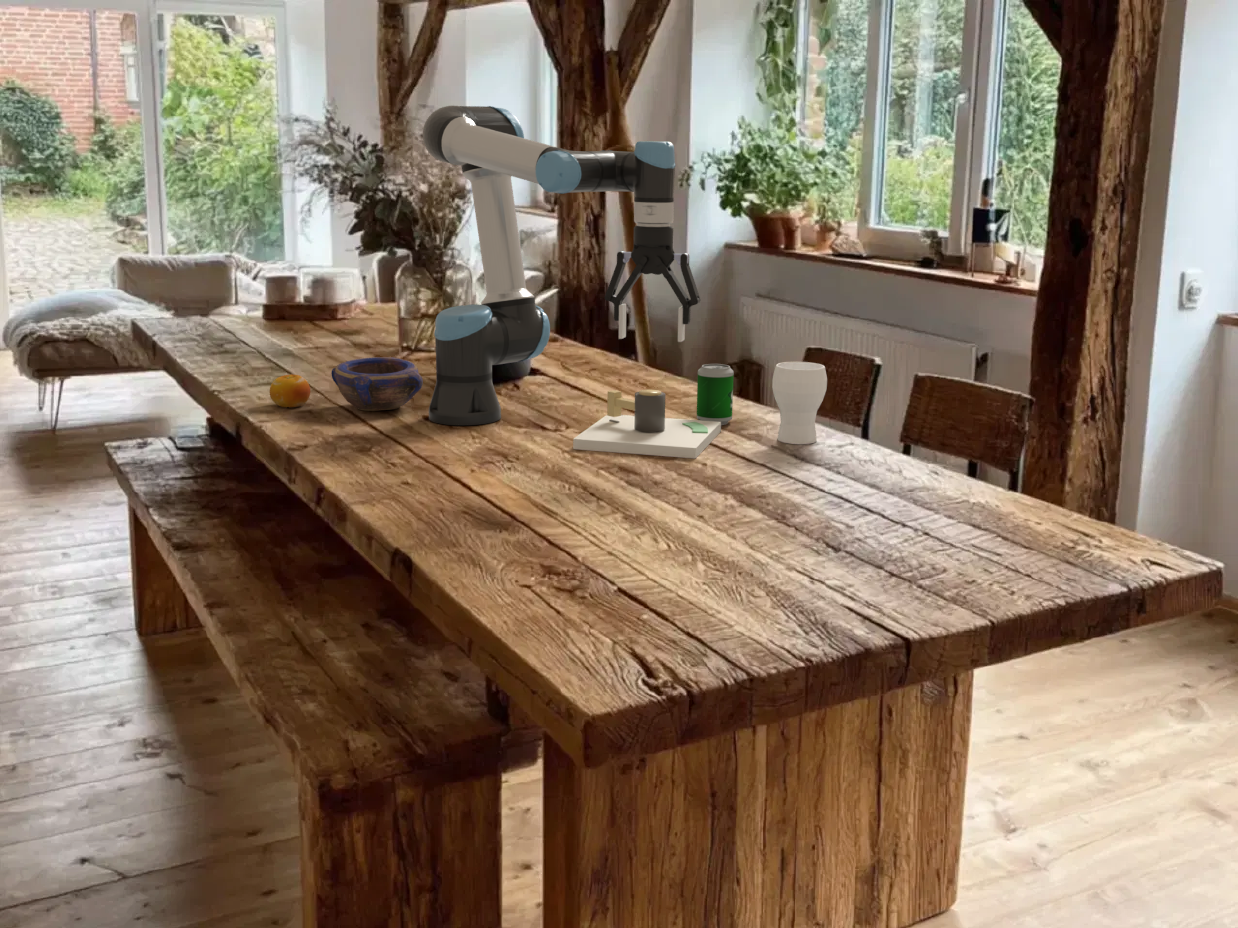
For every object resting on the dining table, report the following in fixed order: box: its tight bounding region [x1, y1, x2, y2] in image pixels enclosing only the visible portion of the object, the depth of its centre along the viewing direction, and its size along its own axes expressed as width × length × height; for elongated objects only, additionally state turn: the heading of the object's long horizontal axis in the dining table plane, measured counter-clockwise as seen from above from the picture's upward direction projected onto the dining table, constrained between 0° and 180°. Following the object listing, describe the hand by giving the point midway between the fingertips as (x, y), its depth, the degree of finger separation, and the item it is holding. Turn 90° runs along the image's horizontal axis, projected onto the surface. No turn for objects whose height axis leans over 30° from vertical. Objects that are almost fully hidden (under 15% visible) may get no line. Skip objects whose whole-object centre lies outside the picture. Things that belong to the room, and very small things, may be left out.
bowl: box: [330, 356, 424, 412], centre depth 279 cm, size 18×18×10 cm
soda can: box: [696, 363, 735, 426], centre depth 269 cm, size 8×8×12 cm
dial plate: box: [572, 414, 722, 459], centre depth 253 cm, size 24×24×2 cm
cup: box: [771, 361, 828, 445], centre depth 253 cm, size 11×11×15 cm
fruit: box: [269, 374, 311, 408], centre depth 281 cm, size 8×8×8 cm
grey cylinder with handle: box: [606, 389, 666, 432], centre depth 255 cm, size 14×6×7 cm, turn 45°
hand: (651, 339), depth 249 cm, fingers open, 11 cm apart
